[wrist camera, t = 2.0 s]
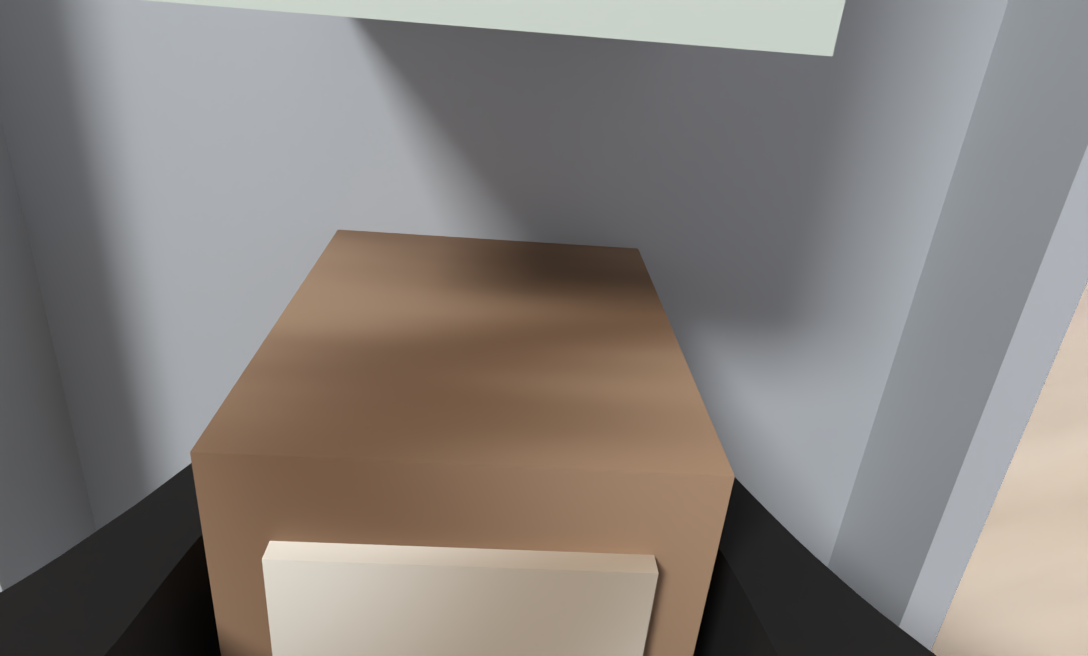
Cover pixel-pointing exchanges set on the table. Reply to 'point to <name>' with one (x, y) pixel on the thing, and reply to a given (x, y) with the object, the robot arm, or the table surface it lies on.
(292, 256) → the grey bin
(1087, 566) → the table surface
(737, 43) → the sage block
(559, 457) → the labelled block
